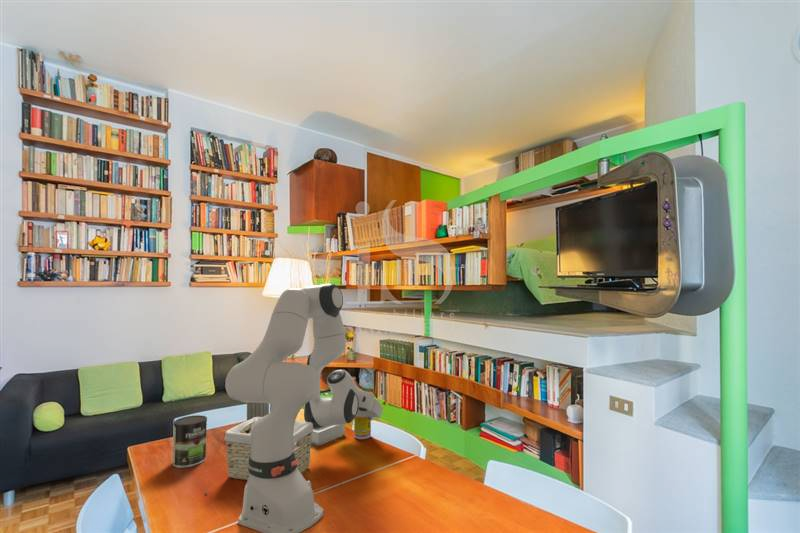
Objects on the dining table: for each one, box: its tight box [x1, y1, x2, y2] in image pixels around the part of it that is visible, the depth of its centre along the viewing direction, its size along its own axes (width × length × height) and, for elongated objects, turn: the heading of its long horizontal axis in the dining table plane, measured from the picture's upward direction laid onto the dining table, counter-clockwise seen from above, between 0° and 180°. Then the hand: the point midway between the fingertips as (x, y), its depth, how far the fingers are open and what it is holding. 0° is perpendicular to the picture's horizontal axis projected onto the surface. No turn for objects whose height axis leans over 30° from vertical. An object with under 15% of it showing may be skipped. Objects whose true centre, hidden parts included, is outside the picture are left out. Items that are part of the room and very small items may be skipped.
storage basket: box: [224, 417, 313, 481], centre depth 127 cm, size 24×16×15 cm
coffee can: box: [172, 414, 208, 469], centre depth 136 cm, size 10×10×14 cm
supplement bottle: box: [353, 415, 372, 440], centre depth 157 cm, size 7×7×13 cm
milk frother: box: [245, 402, 271, 434], centre depth 163 cm, size 14×16×15 cm
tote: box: [311, 424, 346, 447], centre depth 157 cm, size 14×14×5 cm
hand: (363, 417), depth 157 cm, fingers closed on supplement bottle, 7 cm apart
